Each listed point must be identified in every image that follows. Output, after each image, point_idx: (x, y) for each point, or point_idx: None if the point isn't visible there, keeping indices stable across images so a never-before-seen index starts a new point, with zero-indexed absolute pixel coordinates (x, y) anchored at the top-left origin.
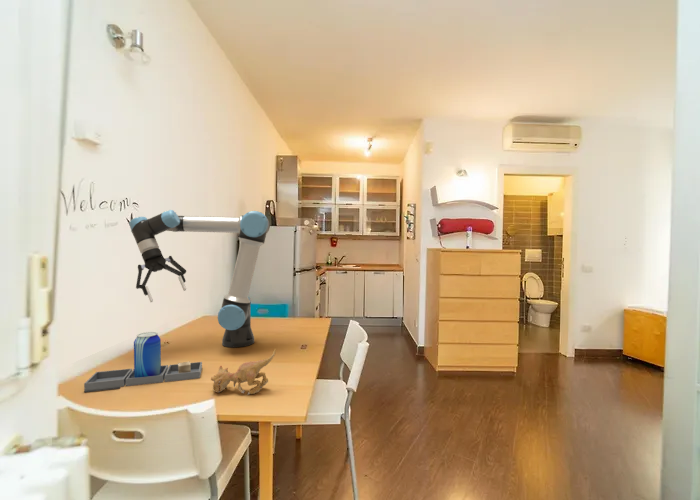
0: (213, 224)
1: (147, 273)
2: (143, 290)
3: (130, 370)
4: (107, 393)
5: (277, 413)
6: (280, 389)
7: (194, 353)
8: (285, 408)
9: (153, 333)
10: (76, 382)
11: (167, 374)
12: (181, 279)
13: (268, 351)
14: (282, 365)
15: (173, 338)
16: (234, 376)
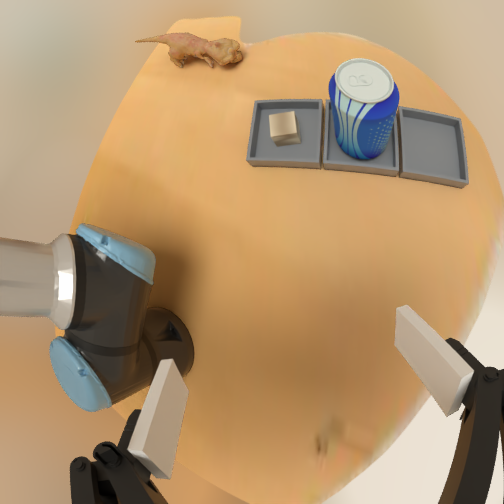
0: None
1: (483, 498)
2: (472, 357)
3: (402, 157)
4: (415, 103)
5: (192, 19)
6: (166, 64)
7: (262, 312)
8: (182, 27)
9: (350, 91)
10: (489, 194)
11: (316, 101)
12: (145, 419)
13: None
14: (129, 150)
15: (301, 471)
16: (206, 41)
